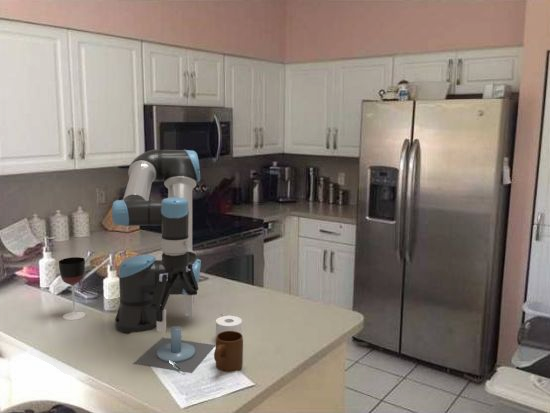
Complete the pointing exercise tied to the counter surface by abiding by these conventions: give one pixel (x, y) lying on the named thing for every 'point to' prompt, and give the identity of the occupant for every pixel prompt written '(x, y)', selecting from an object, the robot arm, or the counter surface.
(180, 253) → the robot arm
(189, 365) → the mat
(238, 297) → the counter surface
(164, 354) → the lid
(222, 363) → the mug
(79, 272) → the wineglass
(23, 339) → the counter surface
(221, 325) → the toilet paper
